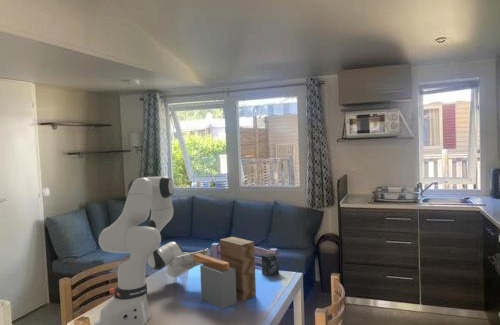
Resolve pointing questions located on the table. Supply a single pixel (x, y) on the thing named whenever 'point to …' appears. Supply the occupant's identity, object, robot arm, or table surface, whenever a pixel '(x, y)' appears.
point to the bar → (211, 261)
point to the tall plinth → (240, 264)
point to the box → (270, 264)
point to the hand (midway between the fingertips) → (198, 252)
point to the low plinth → (218, 286)
